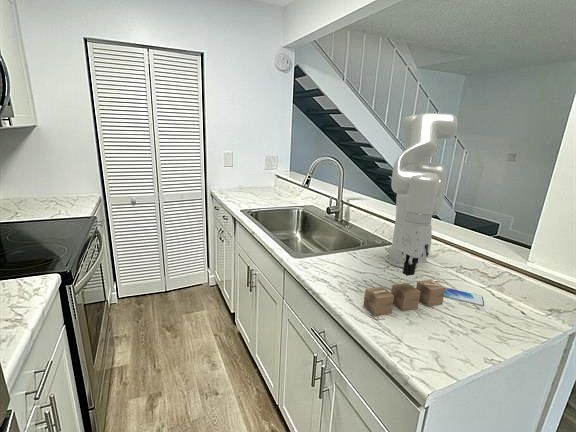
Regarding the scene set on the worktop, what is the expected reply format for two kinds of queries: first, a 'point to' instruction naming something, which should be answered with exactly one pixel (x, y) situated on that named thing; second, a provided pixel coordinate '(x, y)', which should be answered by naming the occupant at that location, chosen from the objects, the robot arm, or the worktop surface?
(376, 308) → the block one
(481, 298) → the smartphone
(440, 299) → the block seven
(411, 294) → the plain block
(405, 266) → the robot arm
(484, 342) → the worktop surface
